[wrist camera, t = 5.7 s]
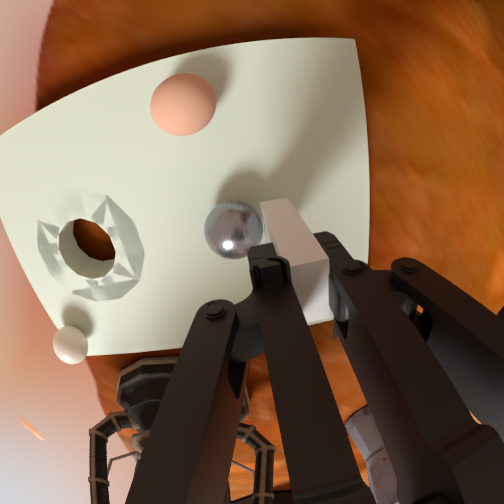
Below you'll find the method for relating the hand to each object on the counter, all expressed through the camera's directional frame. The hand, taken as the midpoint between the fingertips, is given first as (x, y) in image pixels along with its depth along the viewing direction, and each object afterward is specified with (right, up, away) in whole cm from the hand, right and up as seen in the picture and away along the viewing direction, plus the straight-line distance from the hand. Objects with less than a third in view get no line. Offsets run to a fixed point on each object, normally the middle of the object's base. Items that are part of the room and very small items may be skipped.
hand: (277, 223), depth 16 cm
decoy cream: (-16, -9, +3) cm, 19 cm away
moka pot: (+18, -28, +22) cm, 40 cm away
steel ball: (-2, 0, 0) cm, 2 cm away
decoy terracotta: (-5, +5, -3) cm, 8 cm away
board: (-7, +1, +4) cm, 8 cm away
